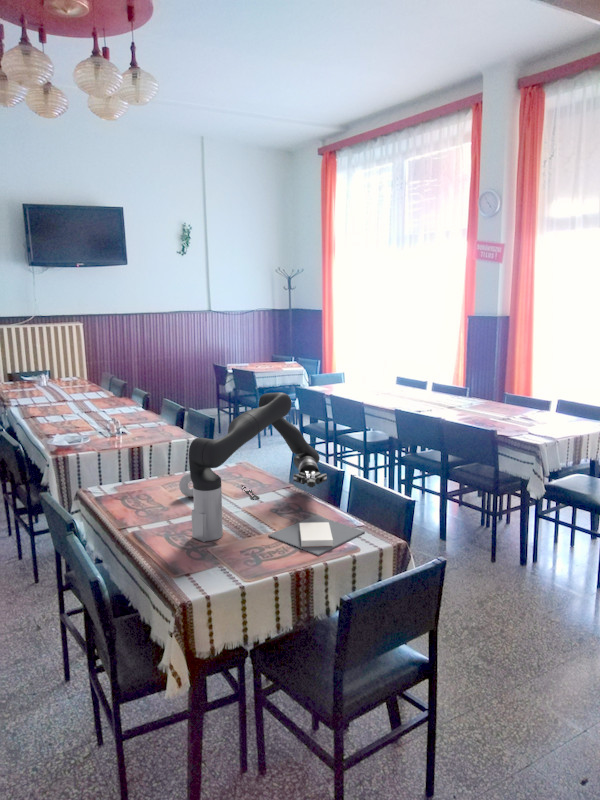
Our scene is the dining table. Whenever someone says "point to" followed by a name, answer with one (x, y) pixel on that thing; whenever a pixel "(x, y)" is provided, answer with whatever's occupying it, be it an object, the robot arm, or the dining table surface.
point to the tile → (315, 534)
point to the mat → (338, 530)
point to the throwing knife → (252, 494)
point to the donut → (186, 485)
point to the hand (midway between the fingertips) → (311, 484)
